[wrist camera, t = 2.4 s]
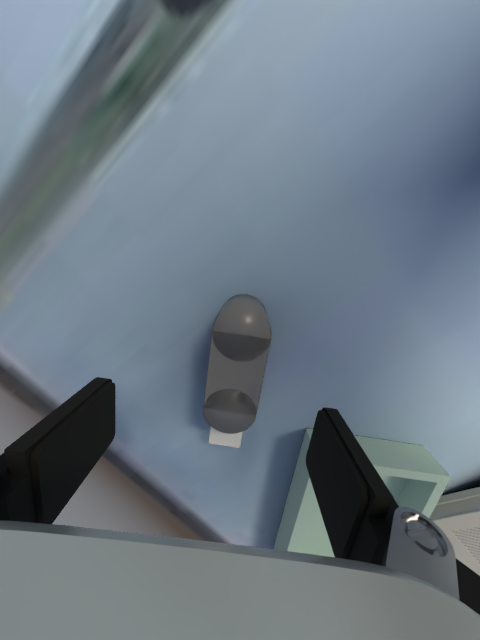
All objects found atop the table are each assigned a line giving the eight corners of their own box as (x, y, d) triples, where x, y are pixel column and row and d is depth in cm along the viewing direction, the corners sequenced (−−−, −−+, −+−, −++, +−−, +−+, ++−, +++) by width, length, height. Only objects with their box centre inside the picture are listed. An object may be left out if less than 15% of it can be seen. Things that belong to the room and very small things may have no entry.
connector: (223, 291, 15) (215, 301, 12) (270, 298, 15) (276, 310, 12) (207, 417, 18) (198, 455, 14) (247, 423, 18) (246, 463, 14)
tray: (306, 428, 18) (315, 456, 15) (422, 445, 18) (451, 476, 15) (273, 548, 22) (276, 585, 19) (368, 562, 22) (383, 602, 19)
